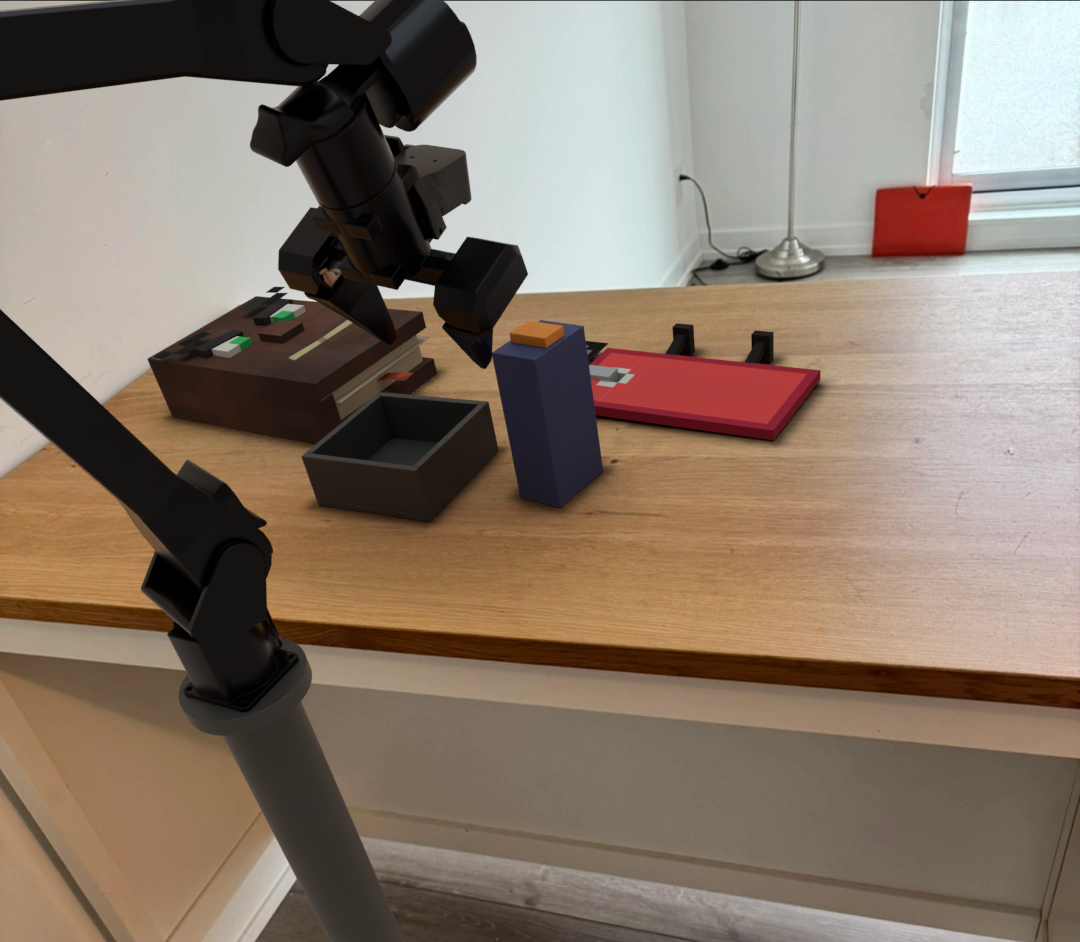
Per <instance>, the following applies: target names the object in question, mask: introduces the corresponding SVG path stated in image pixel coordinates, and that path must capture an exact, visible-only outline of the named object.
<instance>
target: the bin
mask: <svg viewBox="0 0 1080 942" xmlns="http://www.w3.org/2000/svg"><path fill="white" fill-rule="evenodd" d="M498 452H500V449H499V445H498V441H497V435H496V430H495V426H494V421H493V416H492V411H491V406H490V402H489V401H487V400H476V399H463V398H453V397H440V396H429V395H418V394H409V395H407V394H396V393H384V392H378V393H377V394H376V395H375V396H373V397H372V398H371V399H370V400H369V401H367V402H366V403H365V404H364V405H363V406H361V407H360V408H359V409H358V410H357V411H355V412H354V413H353V414H352V415H351V416H349V417H348V418H347V419H346V420H344V421H343V422H342V423H341V424H340V425H338V426H337V427H336V428H335V429H334V430H332V431H331V432H330V433H329V434H328V435H326V436H325V437H324V438H323V439H322V440H320V441H319V442H318V443H317V444H313V446H311V448H309V449H308V450H306V452H305V453H303V454H302V455H301V456H300V457H301V460H302V463H303V465H304V468H305V471H306V474H307V478H308V479H309V482H310V485H311V488H312V491H313V494H314V496H315V500H316V503H317V506H322V507H329V508H335V509H342V510H348V511H355V512H362V513H369V514H374V515H380V516H381V515H382V516H387V517H394V518H400V519H401V518H402V519H407V520H415V521H421V522H428V523H430V522H431V521H432V520H433V519H434V518H435V517H436V516H437V515H439V513H440V512H441V511H442V510H443V509H444V508H445V507H446V506H447V505H448V504H449V503H450V502H451V501H452V499H454V497H456V496H457V494H458V493H460V491H461V490H463V488H464V487H465V486H466V485H467V484H468V483H470V481H471V480H472V479H473V478H474V477H475V476H476V475H477V474H478V473H479V472H480V471H481V470H482V469H483V468H484V467H485V466H486V465H487V464H488V463H489V462H490V461H491V460H492V459H493V458H494V457H495V456H496V455H497V454H498Z"/></svg>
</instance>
